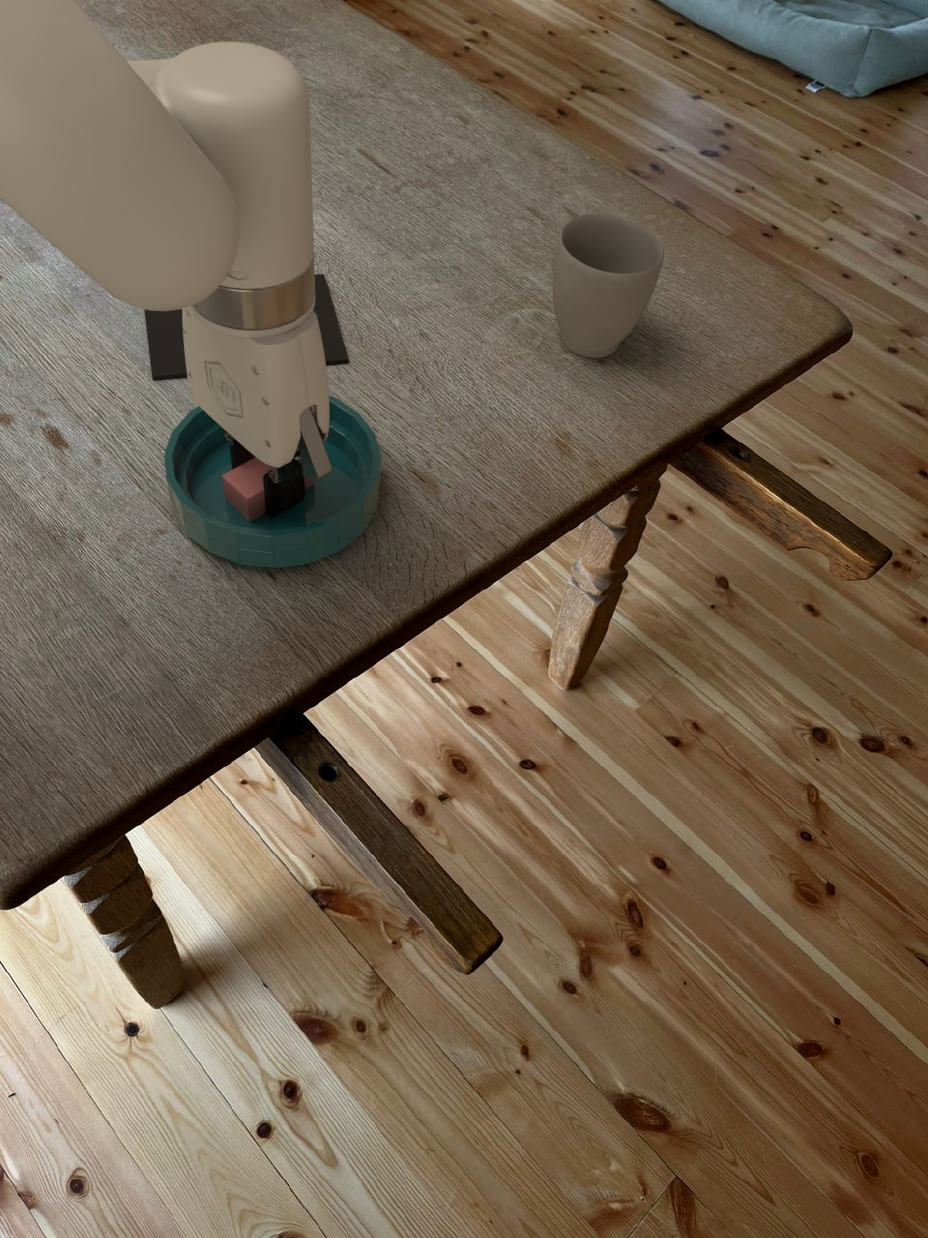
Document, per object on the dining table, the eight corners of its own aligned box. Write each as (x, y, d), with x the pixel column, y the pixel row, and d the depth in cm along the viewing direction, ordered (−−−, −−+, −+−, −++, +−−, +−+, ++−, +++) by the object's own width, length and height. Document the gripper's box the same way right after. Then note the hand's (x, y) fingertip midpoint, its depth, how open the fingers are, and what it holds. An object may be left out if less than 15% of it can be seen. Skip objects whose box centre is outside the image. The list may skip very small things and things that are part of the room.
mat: (152, 380, 81) (151, 376, 81) (142, 289, 88) (141, 285, 88) (348, 363, 85) (348, 359, 85) (324, 277, 92) (324, 273, 91)
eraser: (250, 522, 73) (247, 499, 71) (224, 499, 74) (221, 475, 72) (314, 484, 75) (314, 460, 73) (289, 462, 77) (288, 438, 75)
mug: (649, 369, 88) (679, 273, 81) (553, 373, 87) (573, 276, 79) (614, 285, 95) (637, 190, 88) (523, 287, 94) (540, 191, 86)
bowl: (182, 586, 69) (174, 548, 66) (164, 434, 78) (156, 394, 75) (397, 557, 73) (400, 520, 70) (357, 414, 81) (358, 376, 78)
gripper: (117, 234, 61) (162, 453, 76) (288, 375, 55) (300, 584, 70) (219, 194, 65) (243, 411, 79) (390, 323, 59) (381, 531, 73)
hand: (269, 490), depth 74 cm, fingers closed on eraser, 3 cm apart
